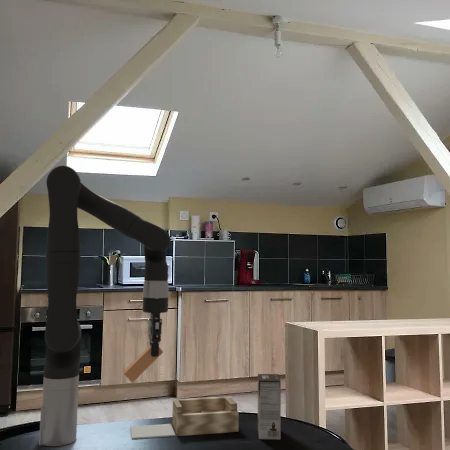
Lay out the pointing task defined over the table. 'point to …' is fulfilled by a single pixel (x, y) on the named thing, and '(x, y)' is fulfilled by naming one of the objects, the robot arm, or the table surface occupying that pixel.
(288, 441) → the table surface
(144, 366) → the orange rectangular block
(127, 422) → the table surface
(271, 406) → the coffee box
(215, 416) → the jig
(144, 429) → the mat
